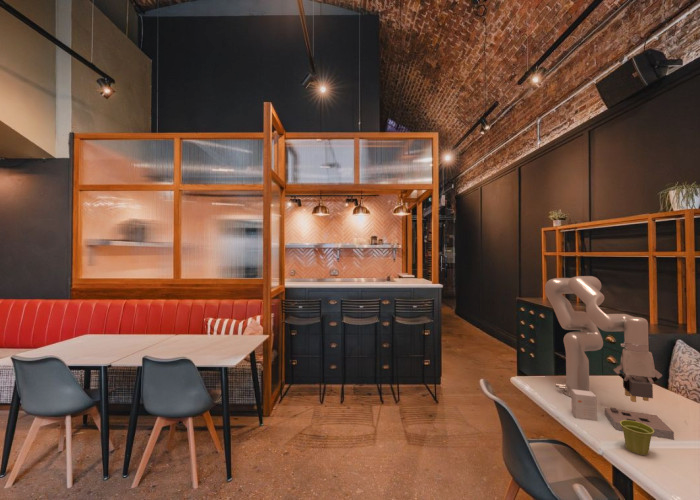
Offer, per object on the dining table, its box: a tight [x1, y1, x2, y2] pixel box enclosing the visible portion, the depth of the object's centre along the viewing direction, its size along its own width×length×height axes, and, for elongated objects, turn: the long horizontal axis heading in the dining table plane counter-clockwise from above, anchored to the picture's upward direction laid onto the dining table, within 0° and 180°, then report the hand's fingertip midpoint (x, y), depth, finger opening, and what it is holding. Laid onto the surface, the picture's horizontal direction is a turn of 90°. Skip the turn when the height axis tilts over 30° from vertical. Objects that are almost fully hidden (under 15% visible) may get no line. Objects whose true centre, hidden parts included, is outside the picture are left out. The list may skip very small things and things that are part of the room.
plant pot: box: [620, 420, 654, 456], centre depth 119 cm, size 9×9×9 cm
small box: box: [571, 389, 598, 421], centre depth 143 cm, size 8×6×10 cm
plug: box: [624, 376, 654, 403], centre depth 135 cm, size 6×9×9 cm
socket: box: [603, 406, 675, 440], centre depth 135 cm, size 18×14×4 cm
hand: (637, 390), depth 135 cm, fingers closed on plug, 6 cm apart
